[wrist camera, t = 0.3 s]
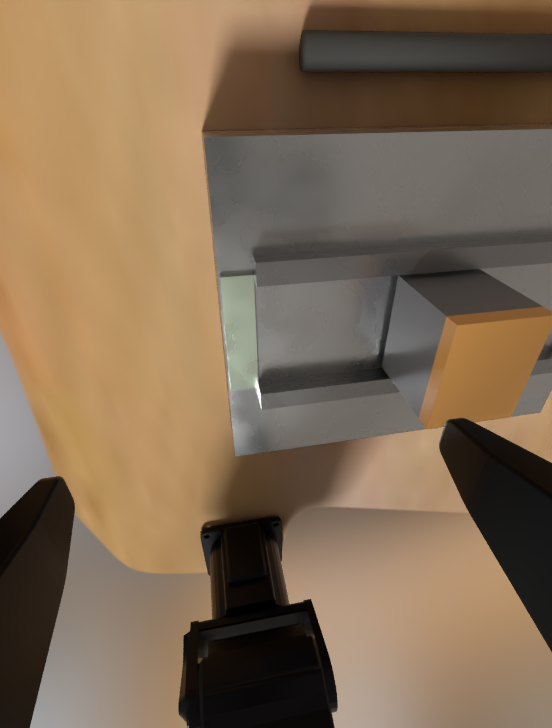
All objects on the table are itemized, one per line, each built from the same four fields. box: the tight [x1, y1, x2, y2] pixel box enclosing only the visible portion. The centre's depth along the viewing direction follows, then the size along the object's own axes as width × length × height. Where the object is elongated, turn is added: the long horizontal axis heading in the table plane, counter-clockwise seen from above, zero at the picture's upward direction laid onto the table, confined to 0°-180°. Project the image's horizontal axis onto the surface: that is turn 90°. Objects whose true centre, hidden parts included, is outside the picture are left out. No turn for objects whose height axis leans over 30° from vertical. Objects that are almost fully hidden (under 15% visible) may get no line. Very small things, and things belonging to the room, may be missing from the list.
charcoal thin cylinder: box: [299, 30, 552, 72], centre depth 15 cm, size 12×1×1 cm, turn 90°
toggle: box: [382, 269, 552, 429], centre depth 17 cm, size 5×4×5 cm
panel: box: [202, 124, 552, 457], centre depth 20 cm, size 16×20×4 cm
